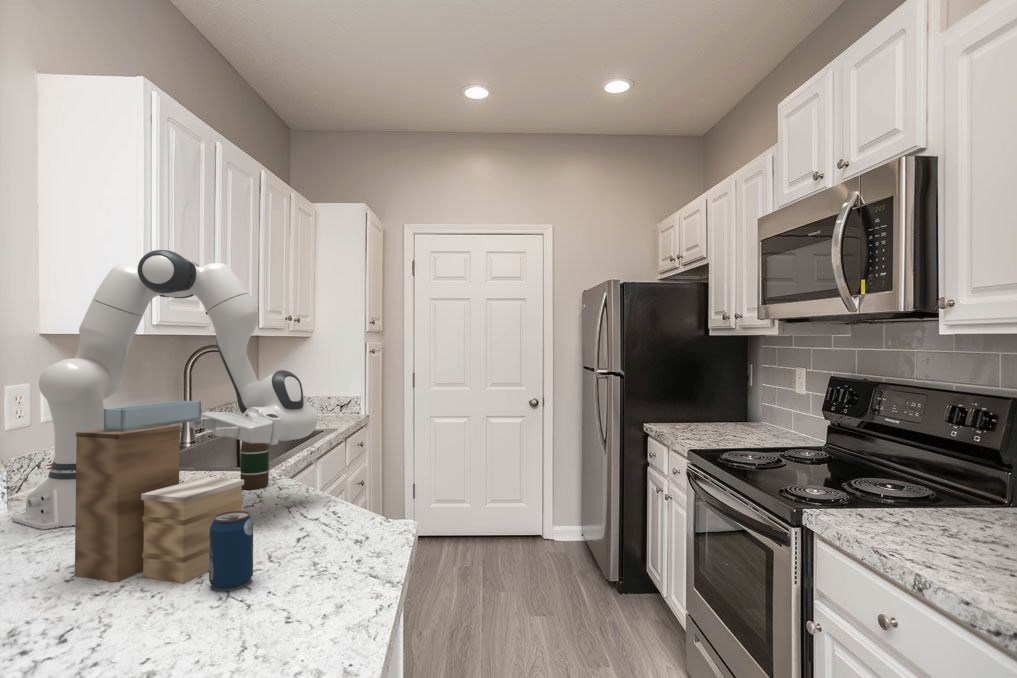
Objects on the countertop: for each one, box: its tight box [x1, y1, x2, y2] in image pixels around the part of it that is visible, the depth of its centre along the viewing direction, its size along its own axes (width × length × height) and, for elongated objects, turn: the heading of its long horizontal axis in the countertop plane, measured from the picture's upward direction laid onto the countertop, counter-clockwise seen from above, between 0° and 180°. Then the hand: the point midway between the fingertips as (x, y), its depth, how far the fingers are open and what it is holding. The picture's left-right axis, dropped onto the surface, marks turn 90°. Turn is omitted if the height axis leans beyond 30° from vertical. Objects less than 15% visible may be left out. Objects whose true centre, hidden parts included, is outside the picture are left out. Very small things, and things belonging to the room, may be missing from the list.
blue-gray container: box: [104, 400, 202, 432], centre depth 114 cm, size 4×18×4 cm, turn 164°
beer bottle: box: [240, 441, 270, 491], centre depth 171 cm, size 8×8×24 cm
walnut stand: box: [74, 424, 182, 583], centre depth 109 cm, size 10×13×26 cm
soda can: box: [208, 510, 254, 592], centre depth 100 cm, size 7×7×12 cm
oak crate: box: [141, 476, 244, 584], centre depth 109 cm, size 10×15×15 cm, turn 164°
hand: (202, 428), depth 129 cm, fingers open, 8 cm apart
